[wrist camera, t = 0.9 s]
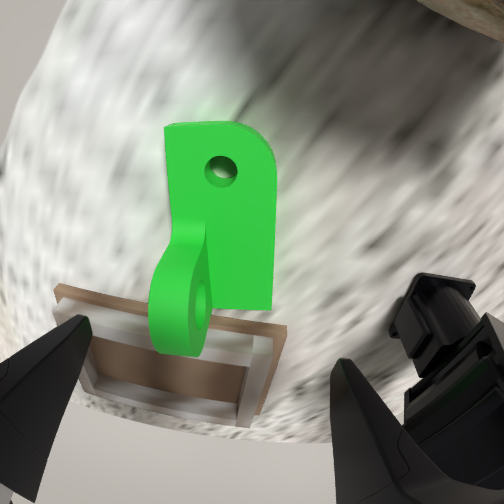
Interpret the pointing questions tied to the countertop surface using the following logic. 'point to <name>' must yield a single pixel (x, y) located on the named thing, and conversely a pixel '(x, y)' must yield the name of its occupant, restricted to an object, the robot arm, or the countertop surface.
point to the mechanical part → (213, 233)
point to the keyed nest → (174, 361)
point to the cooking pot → (473, 14)
